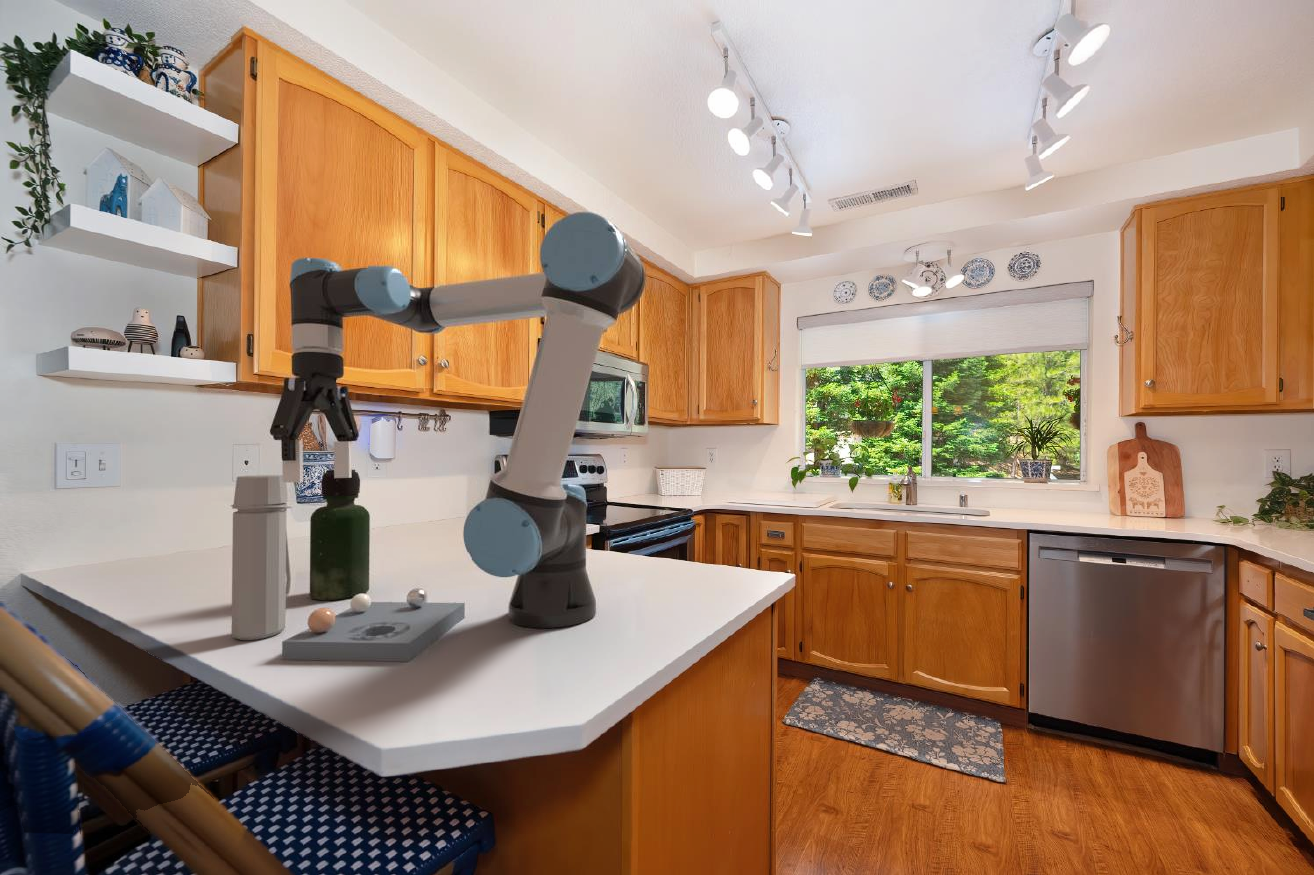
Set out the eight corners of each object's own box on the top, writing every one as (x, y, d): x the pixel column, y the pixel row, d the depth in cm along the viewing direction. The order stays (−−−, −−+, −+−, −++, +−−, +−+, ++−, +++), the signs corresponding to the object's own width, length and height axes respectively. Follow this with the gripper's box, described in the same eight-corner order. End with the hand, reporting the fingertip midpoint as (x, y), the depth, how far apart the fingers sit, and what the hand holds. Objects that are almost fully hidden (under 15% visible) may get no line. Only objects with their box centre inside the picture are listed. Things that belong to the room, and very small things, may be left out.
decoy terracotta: (340, 628, 84) (340, 605, 84) (325, 636, 80) (325, 611, 80) (317, 628, 84) (317, 604, 84) (301, 636, 80) (302, 611, 81)
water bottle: (259, 644, 84) (261, 477, 85) (216, 640, 86) (218, 477, 86) (308, 624, 93) (310, 474, 94) (269, 622, 95) (270, 474, 95)
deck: (464, 617, 97) (464, 602, 97) (408, 661, 77) (408, 643, 77) (363, 616, 98) (363, 601, 98) (282, 659, 78) (282, 641, 78)
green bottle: (344, 602, 107) (345, 471, 107) (296, 600, 109) (297, 471, 109) (380, 589, 117) (381, 469, 117) (335, 587, 119) (336, 468, 119)
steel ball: (430, 604, 96) (430, 586, 96) (421, 610, 93) (422, 590, 93) (412, 604, 96) (412, 586, 96) (403, 610, 93) (403, 590, 93)
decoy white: (374, 609, 94) (374, 591, 94) (364, 614, 91) (364, 596, 91) (357, 609, 94) (357, 591, 94) (346, 614, 91) (346, 596, 91)
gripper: (338, 365, 107) (340, 476, 107) (239, 340, 82) (241, 485, 82) (377, 364, 107) (379, 475, 107) (290, 338, 82) (292, 483, 82)
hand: (319, 480), depth 94 cm, fingers open, 13 cm apart
